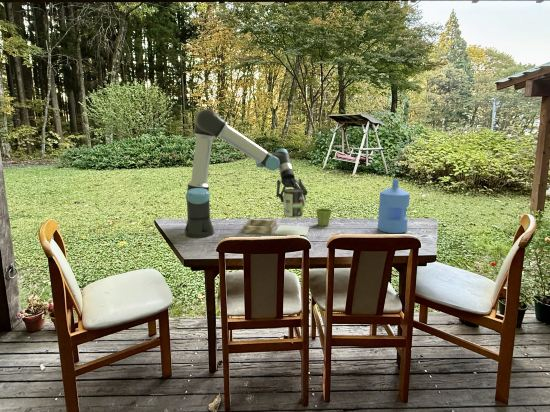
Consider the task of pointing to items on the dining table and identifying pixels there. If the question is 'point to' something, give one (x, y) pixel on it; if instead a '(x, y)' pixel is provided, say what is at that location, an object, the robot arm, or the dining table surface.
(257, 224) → the birch frame
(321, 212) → the plant pot
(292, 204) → the coffee can
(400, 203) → the water jug
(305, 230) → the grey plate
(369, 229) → the dining table surface
